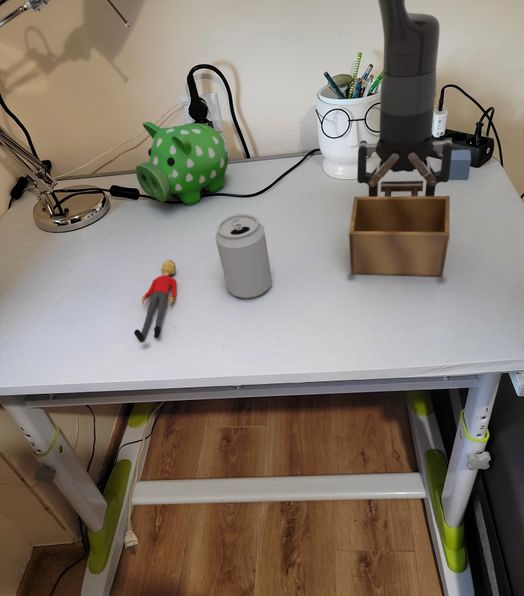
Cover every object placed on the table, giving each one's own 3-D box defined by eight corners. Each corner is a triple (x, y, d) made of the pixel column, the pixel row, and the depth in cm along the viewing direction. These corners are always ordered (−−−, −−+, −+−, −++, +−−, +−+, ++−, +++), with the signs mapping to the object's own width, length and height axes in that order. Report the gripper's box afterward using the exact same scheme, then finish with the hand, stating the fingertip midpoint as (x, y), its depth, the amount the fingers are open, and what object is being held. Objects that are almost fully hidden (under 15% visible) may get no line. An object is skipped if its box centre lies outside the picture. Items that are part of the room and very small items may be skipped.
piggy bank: (140, 201, 109) (116, 132, 98) (206, 167, 116) (191, 98, 105) (178, 223, 100) (156, 150, 90) (246, 184, 107) (234, 112, 97)
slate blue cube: (466, 169, 100) (470, 149, 97) (467, 179, 97) (471, 159, 94) (445, 169, 100) (447, 150, 98) (445, 179, 98) (448, 160, 95)
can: (233, 306, 80) (218, 243, 72) (223, 279, 86) (208, 217, 77) (278, 293, 81) (268, 229, 73) (265, 267, 86) (255, 205, 78)
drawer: (442, 277, 78) (442, 218, 85) (449, 234, 71) (449, 174, 78) (350, 274, 82) (358, 218, 88) (348, 233, 75) (357, 176, 81)
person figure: (128, 321, 75) (155, 249, 87) (129, 339, 77) (155, 267, 90) (163, 327, 75) (185, 254, 87) (162, 345, 78) (184, 272, 90)
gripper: (354, 115, 72) (354, 216, 83) (461, 110, 68) (446, 216, 80) (359, 94, 77) (359, 192, 88) (459, 89, 73) (445, 191, 85)
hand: (400, 203), depth 84 cm, fingers open, 8 cm apart
